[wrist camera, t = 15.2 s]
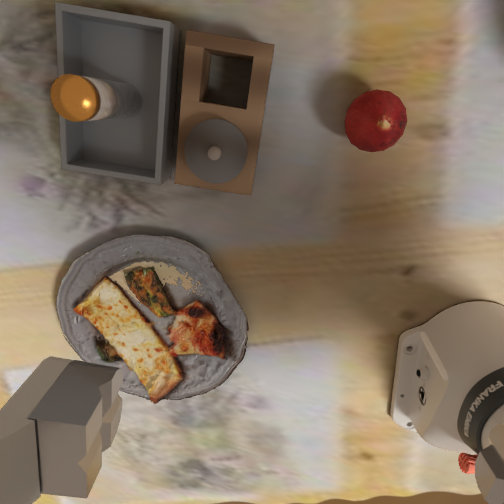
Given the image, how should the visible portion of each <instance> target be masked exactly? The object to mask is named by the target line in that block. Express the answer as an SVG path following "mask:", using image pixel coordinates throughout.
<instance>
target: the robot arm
mask: <svg viewBox="0 0 504 504" xmlns="http://www.w3.org/2000/svg"><path fill="white" fill-rule="evenodd" d="M409 346H411V347H410V348H407V347H409ZM122 384H123V370H122V369H121V368H118V367H113V366H107V365H101V364H95V363H89V362H83V361H78V360H74V361H73V360H69V359H63V358H57V357H48V358H46V359H44V360H43V361H42V362H41V364H40V365H39V366H38V367H37V368H36V369H35V370H34V372H33V373H32V374H31V375H30V376H29V377H28V379H27V380H26V381H25V382H24V383H23V384H22V385H21V387H20V388H19V389H18V390H17V391H16V392H15V393H14V395H13V396H12V397H11V398H10V399H9V400H8V402H7V403H6V404H5V405H4V406H3V407H2V408H1V410H0V504H32V503H33V502H35V501H36V500H37V499H38V498H39V497H40V496H41V494H50V495H60V496H69V497H79V498H87V497H88V495H89V493H90V490H91V488H92V486H93V484H94V482H95V480H96V477H97V475H98V473H99V471H100V469H101V466H102V452H103V451H105V450H106V449H108V448H109V447H110V446H111V444H112V442H113V439H114V437H115V435H116V432H117V428H118V425H119V422H120V417H121V411H122V398H121V397H120V396H119V394H118V392H119V390H120V388H121V386H122ZM390 416H391V418H392V419H393V421H394V422H395V423H397V424H398V425H399V426H401V427H403V428H405V429H407V430H409V431H412V432H415V433H418V434H419V435H420V436H421V438H423V439H424V440H425V441H426V442H427V443H429V444H431V445H433V446H435V447H437V448H440V449H443V450H447V451H451V452H456V453H460V455H459V458H458V461H459V466H460V469H461V470H462V472H465V473H468V474H470V473H475V478H476V481H477V485H478V488H479V490H480V492H481V493H482V495H483V497H484V499H485V500H486V501H487V502H488V503H489V504H504V306H502V305H499V304H496V303H492V302H486V301H474V302H466V303H462V304H458V305H455V306H452V307H450V308H448V309H446V310H444V311H442V312H440V313H439V314H437V315H436V316H434V317H433V318H432V319H430V320H429V321H428V322H426V323H425V324H423V325H421V326H418V327H415V328H412V329H409V330H407V331H405V332H403V333H402V334H401V335H400V338H399V344H398V352H397V360H396V369H395V377H394V385H393V393H392V401H391V410H390ZM408 422H409V423H408ZM470 454H478V455H470ZM40 493H41V494H40Z"/></svg>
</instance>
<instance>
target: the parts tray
mask: <svg viewBox="0 0 504 504" xmlns="http://www.w3.org/2000/svg"><path fill="white" fill-rule="evenodd" d="M55 15H56V42H57V70H58V77H60V76H62V75H65V74H73V75H79V76H85V77H91V78H97V79H103V80H109V81H115V82H122V83H127V84H130V85H132V86H134V87H135V88H136V89H137V90H138V91H139V93H140V95H141V99H142V106H141V109H140V111H139V112H138V113H137V114H136V115H135V116H133V117H128V118H116V119H104V120H92V121H80V122H73V121H69V120H67V119H65V118H63V117H62V116H61V115H60V114H59V124H60V151H61V169H64V170H70V171H76V172H83V173H89V174H95V175H101V176H108V177H114V178H120V179H127V180H133V181H139V182H146V183H152V184H158V185H161V184H162V183H163V182H164V181H166V180H167V179H168V178H170V175H171V161H172V147H173V133H174V119H175V105H176V91H177V77H178V63H179V49H180V35H181V30H180V29H179V28H178V27H176V26H175V25H174V24H173V23H172V22H170V21H165V20H159V19H153V18H147V17H141V16H135V15H129V14H123V13H118V12H112V11H106V10H100V9H94V8H88V7H82V6H76V5H70V4H64V3H59V2H55Z"/></svg>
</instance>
